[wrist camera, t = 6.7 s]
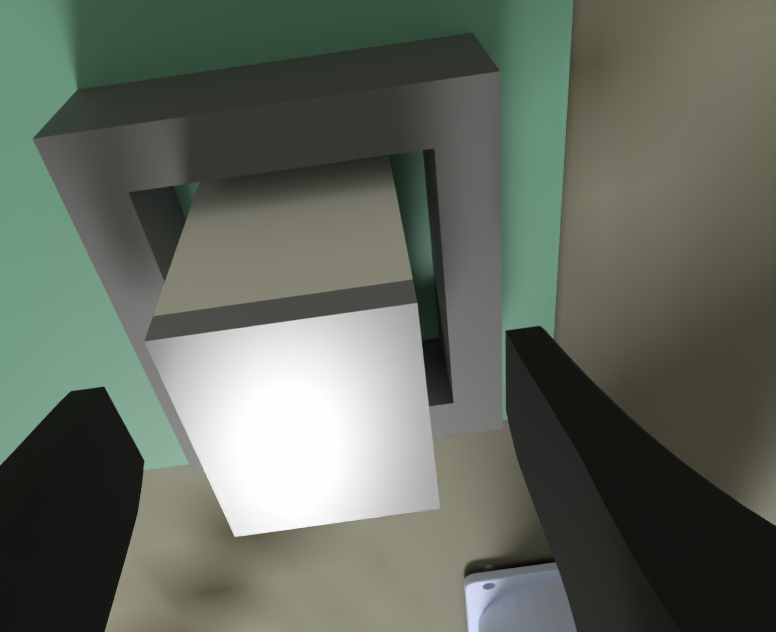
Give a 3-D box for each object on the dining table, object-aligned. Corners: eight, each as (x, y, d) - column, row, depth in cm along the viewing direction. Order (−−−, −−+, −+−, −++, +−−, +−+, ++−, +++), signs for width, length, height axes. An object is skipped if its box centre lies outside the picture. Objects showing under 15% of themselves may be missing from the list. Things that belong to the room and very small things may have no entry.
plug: (386, 139, 14) (417, 303, 9) (408, 317, 17) (439, 508, 12) (204, 165, 14) (144, 341, 9) (259, 338, 17) (235, 536, 12)
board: (564, -138, 12) (636, -124, 9) (540, 391, 21) (574, 479, 18) (-582, 31, 12) (-848, 92, 9) (-131, 484, 21) (-200, 585, 18)
